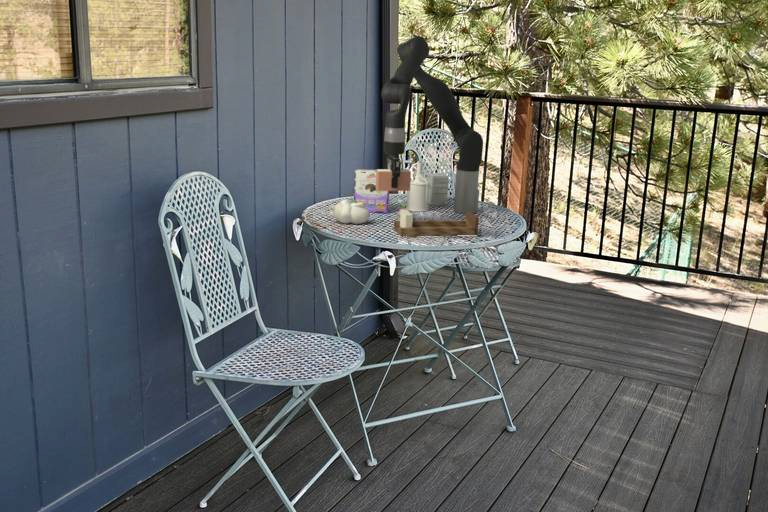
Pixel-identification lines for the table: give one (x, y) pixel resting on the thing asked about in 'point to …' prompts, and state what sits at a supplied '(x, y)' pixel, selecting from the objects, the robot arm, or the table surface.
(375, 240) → the table surface
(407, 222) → the bookend
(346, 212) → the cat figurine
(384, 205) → the candy box
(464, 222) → the book rack
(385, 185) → the book
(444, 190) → the supplement box
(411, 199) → the white bottle
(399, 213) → the rabbit figure
